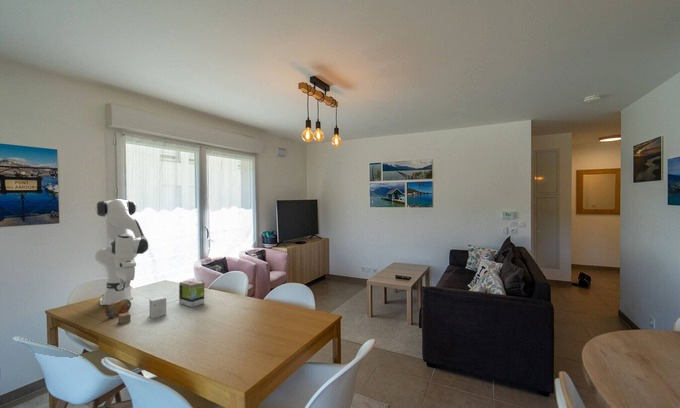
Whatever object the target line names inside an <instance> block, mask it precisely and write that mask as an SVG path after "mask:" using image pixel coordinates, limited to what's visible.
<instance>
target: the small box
mask: <svg viewBox="0 0 680 408" xmlns="http://www.w3.org/2000/svg"><path fill="white" fill-rule="evenodd" d="M166 315H167V297H166V296H165V295H161V296H157V297H152V298H150V299H149V317H150V318H151V319H155V318H158V317H159V318H160V317H161V316H166Z"/></svg>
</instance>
